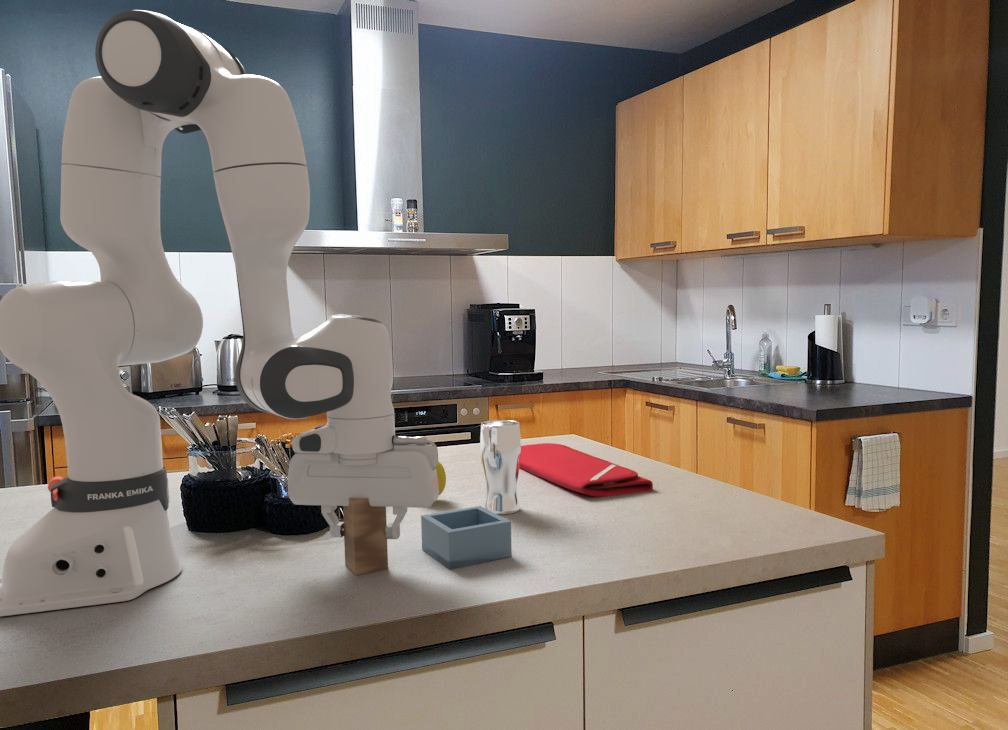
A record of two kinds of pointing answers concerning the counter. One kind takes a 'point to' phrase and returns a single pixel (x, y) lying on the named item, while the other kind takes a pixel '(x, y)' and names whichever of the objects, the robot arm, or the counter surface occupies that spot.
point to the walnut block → (365, 537)
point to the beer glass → (501, 464)
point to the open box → (466, 536)
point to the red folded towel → (581, 471)
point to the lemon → (441, 477)
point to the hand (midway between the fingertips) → (365, 537)
